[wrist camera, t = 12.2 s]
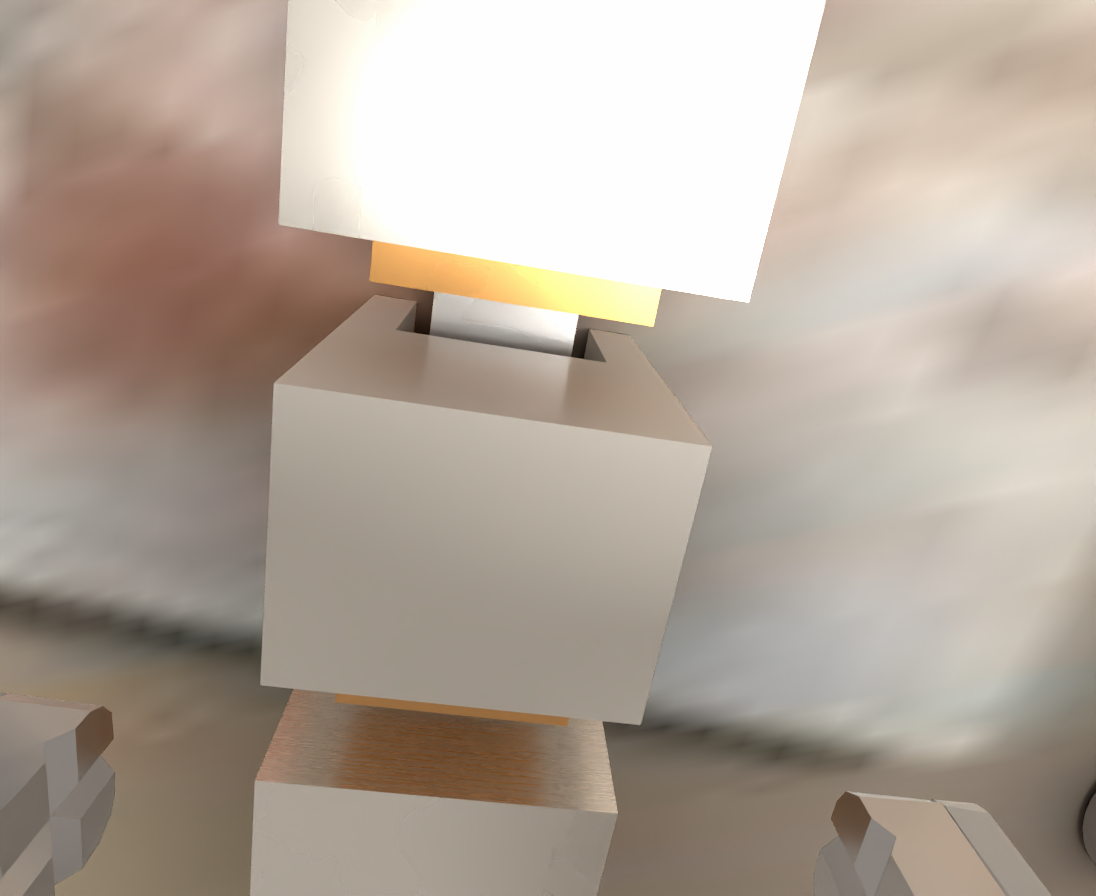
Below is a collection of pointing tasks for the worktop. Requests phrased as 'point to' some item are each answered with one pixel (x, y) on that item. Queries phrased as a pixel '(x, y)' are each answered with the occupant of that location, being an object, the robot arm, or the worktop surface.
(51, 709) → the robot arm
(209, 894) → the worktop surface
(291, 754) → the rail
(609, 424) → the notched cream cube
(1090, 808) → the travel mug
